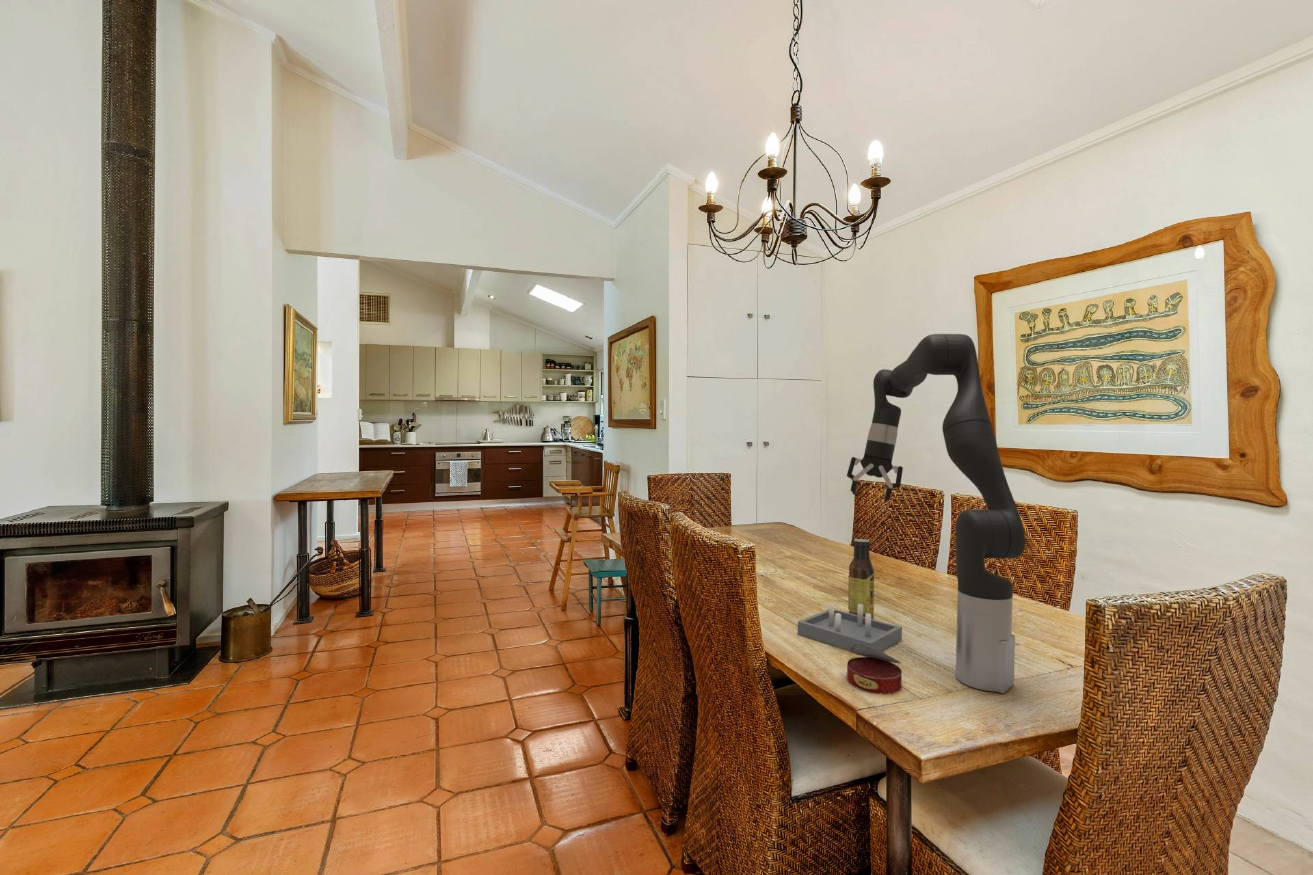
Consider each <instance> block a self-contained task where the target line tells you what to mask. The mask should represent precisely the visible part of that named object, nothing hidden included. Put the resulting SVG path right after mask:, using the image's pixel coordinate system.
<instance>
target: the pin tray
mask: <svg viewBox="0 0 1313 875" xmlns="http://www.w3.org/2000/svg"><path fill="white" fill-rule="evenodd" d="M799 634H800V635H799ZM797 635H799V636H803V637H806V638H807V639H808V638H809V639H811V640H814V641H818V642H821V643H824V644H827V645H830V646H834V647H837V648H839V649H843V650H846V651H848V650H847V649H846V648H847V646H848V645H849V644H851V643H853V642H854V643H857V644H858V643H861V644H866V645H868V646H871V647H873V648H875V649H877V650H879V651H881V652H883V651H885V650H887V649H888V648H890V647H892V646H894V645H895V644H897V643H899V642H901V641H903V627H902V626H900V625H895V624H893V623H888V622H885V621H881V620H877V619H875V618H874V619H873V618H872V619H871V614H869V613H866V617H863V605H862V604H858V615H855V614H851V613H849V611H848V612H846V611H844V610H841V609H840V610H839V609H836V608H835V604H834V603H829V604H828V609H826V610H822V611H821V612H818V613H816V614H812V615H810V616H809V617H805V618H803V619H800V620H798V621H797Z"/></svg>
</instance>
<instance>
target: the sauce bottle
mask: <svg viewBox="0 0 1313 875" xmlns="http://www.w3.org/2000/svg"><path fill="white" fill-rule="evenodd" d="M852 540H853V541H852V542H853V559H852V560H851V562H850V563H849V566H848V569H849V570H848V593H847V594H848V595H847V596H848V601H847V602H848V603H847V605H848V608H847V610H848V613H851V614H855V615H858V604H862V605H863V617H866V613H869V614H871V619H873V618H874V613H875V570H874V567H873V564H872V561H871V557H870V546H871V542H870V540H868V539H863V538H855V539H852Z"/></svg>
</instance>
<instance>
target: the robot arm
mask: <svg viewBox="0 0 1313 875" xmlns="http://www.w3.org/2000/svg"><path fill="white" fill-rule="evenodd" d="M977 355H978V353H977V350H976V346H975V343H974V340H973V339H972V338H971V337H970V336H969V335H967V334H964V333H935V334H934V333H933V334H929V335H927V336H925V337H923V338H922V339H921V340H920V341H919V343H918V344H917V345H916V346H915V347H914V349H913V350H912V352H910V354H909V356H908V357H907V358H906V360H905V361H903V362H901V363H900V364H899V365H897V366H896V367H894V369H891V370H890V369H885V368H884V369H879V370H878V371H877V372H876V374H875V375H874V377H873V378H874V379H873V382H872V383H873V384H872V385H873V394H874V395H873V396H874V411H873V416H872V420H871V424H870V427H869V430H868V435H867V438H866V443H865V444H866V445H865V448H864V453H863V457H862V458H858V457H855V456H852V457H851V459H850V462H849V466H848V470H847V473H846V476H847V478H849V479H850V480H851V486H850V492H851V493H852V495H856V492H857V486H858V480H860V479H861V478H862V477H863V476H864V475H867V476H869V477H876V478H878V479H879V478H883V480H884V481H885V483H886V485H887V487H886V489H885V494H884V499H883V502H886V503H887V501H890V499H891V498H892V497H891V496H892V492H893V490H894V489H898V488H900V487H901V486H902V484H901V483H902V476H903V471H904V470H903V469H904V467H903V466H901V465H899V466H898V465H893V464H892V463H893V456H894V454H895V449H896V444H897V438H898V430H899V425H900V420H901V416H902V409H901V407H899V406H897V405H896V404H892V403H891V402H889V401H888V398H887V396H888V397H894V398H898V399H899V398H900V399H904V398H908V397H909V396H910V395H911V394H912V392H913V390H914V388H916V387H917V386H919V385H921V384H922V383H923V382H925V380H926V378H927V376H928V375H933V376H954V377H955V379H956V385H957V392H956V395H955V397H954V399H953V402H952V404H951V405H950V406H949V408H948V410H947V412H946V415H945V416H944V419H943V421H942V429H941V430H942V435H943V440H944V443H945V448H946V452H947V455H948V457H949V458H950V460H951V462H952V463H953V464H954V465H955V467H957V469H958V470H959V471H960V472H961V473H962V474H963V475H964V476H965V477H966V478H967V479H968V480H969V481H970V482H971V483H972V484H973V486H975V487H976V489H977V490H978V492H979V493H980V494H981V496H982V499H983V500H984V503H985V505H986V507H987V508H986V509H965V510H962V511H961V512H959V515H958V516H957V518H956V521H955V527H954V528H955V529H954V533H955V534H954V536H955V537H954V538H955V539H954V540H955V571H956V572H955V573H956V577H957V578H956V579H957V602H956V606H957V608H956V610H957V611H956V642H955V643H956V644H955V645H956V646H955V677H956V679H957V680H958V681H959V682H961V683H962V684H963V685H966V686H968V687H971V688H974V689H978V690H981V691H985V692H986V691H987V692H997V693H1000V694H1005V693H1006V692H1007V691H1008V690H1009V689H1011V687H1013V686H1014V684H1015V661H1016V660H1015V657H1016V655H1015V654H1016V653H1015V652H1016V650H1015V649H1016V635H1014V634H1013V633H1012V629H1013V602H1014V601H1013V595H1014V588H1013V587H1014V585H1013V583H1012V581H1011V580H1009V579H1007V578H1006V577H1003V576H1001V575H999V574H995V573H993V572H990V571H989V570H987V569H986V565H985V559H1000V560H1001V559H1005V560H1006V559H1008V560H1009V559H1012V560H1013V559H1017V558H1020V557H1021V556H1022V555H1023V554H1024V551H1025V548H1026V534H1025V533H1026V531H1025V528H1024V523H1023V521H1022V518H1021V515H1020V512H1019V510H1018V507H1017V504H1016V502H1015V499H1014V497H1013V494H1012V492H1011V488H1010V486H1009V483H1008V480H1007V478H1006V475H1005V470H1004V468H1003V463H1002V461H1001V456H1000V453H999V449H998V444H997V440H996V435H995V431H994V428H993V424H992V422H991V418H990V415H989V410H988V408H987V404H986V399H985V397H984V396H985V395H984V392H983V388H982V386H983V385H982V380H981V375H980V368H979V367H980V366H979V361H978V356H977ZM859 463H860V464H861V466H862V468H863V469H862V470H861V471H859V473H856V475H855V474H853V471H854V468H855V466H857V465H858V464H859ZM892 470H893V472H894V473H895V474H896V478H895V482H893V483H892V481H891V479H890V478H889V475H888V473H890V471H892Z"/></svg>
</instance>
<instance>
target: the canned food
mask: <svg viewBox="0 0 1313 875" xmlns="http://www.w3.org/2000/svg"><path fill="white" fill-rule="evenodd" d="M846 649H847V650H846V651H848V652H850V654H855V655H858V656H859V657H854V658H851V659H849V660H848V661H847V664H846V665H847V667H846V669H847V670H846V680H847V682H848V683H849V685H851V684H852V685H851V686H853V687H854V686H855V687H854V688H856V687H857V688H856V689H858V688H859V689H858V690H860V691H864V692H868V693H871V694H878V693H879V694H880V693H882V694H880V695H890V694H889V693H891V694H896V693H898V692H899V691H900V690H901V689H902V682H903V681H902V677H903V676H902V675H903V670H902V669H901V667H900V666H899V665H897V664H901V661H900V660H897V659H896V658H894V657H893V656H891V655H888V654H887V653H885V652H883V651H879V650H877V649H875V648H873V647H871V646H868V645H866V644H861V643H858V644H857V643H854V642H853V643H851V644H849V645H848V646H847V648H846ZM861 656H862V657H861ZM897 691H898V692H897ZM879 694H878V695H879Z"/></svg>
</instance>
